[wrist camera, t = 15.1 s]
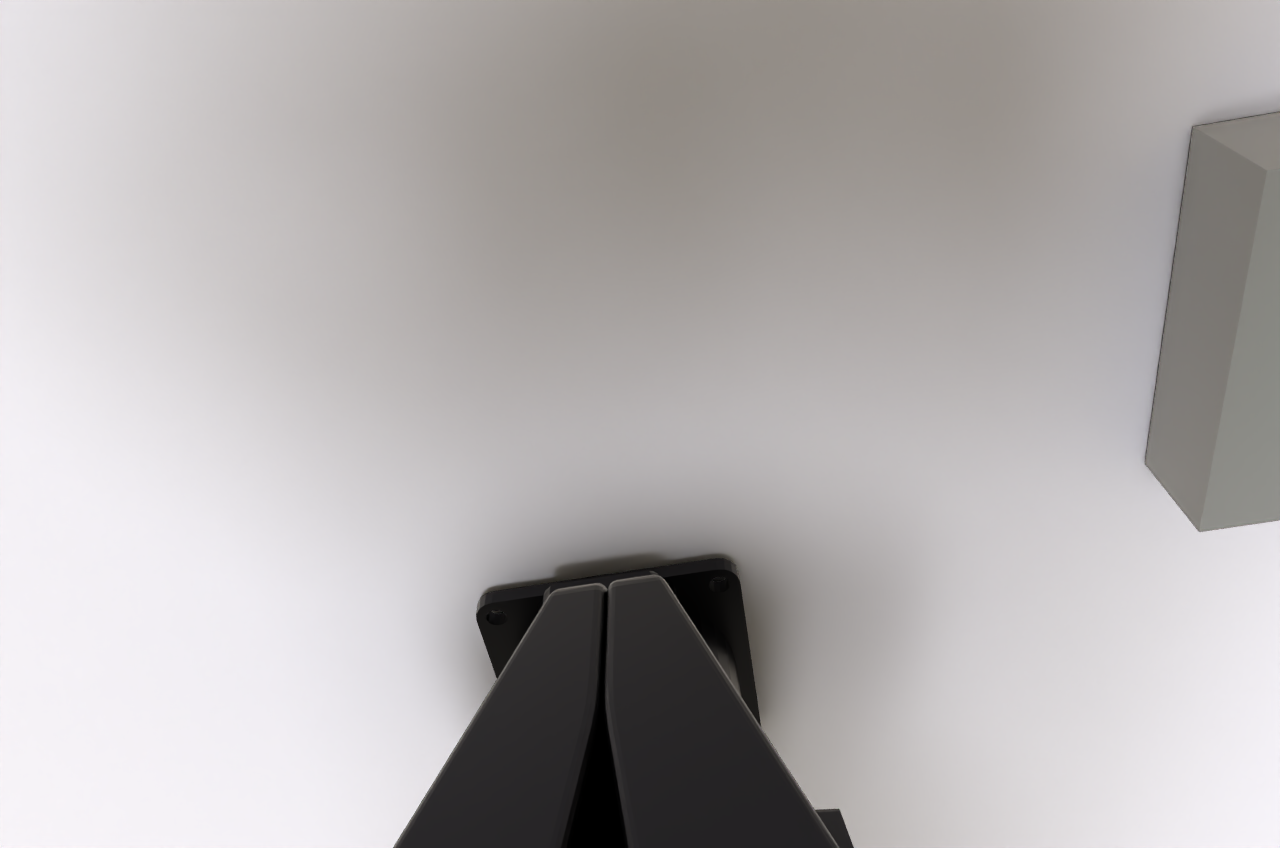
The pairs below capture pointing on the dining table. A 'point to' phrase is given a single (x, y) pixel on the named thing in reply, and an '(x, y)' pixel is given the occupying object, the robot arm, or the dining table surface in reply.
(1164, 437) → the button box
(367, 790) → the dining table surface
